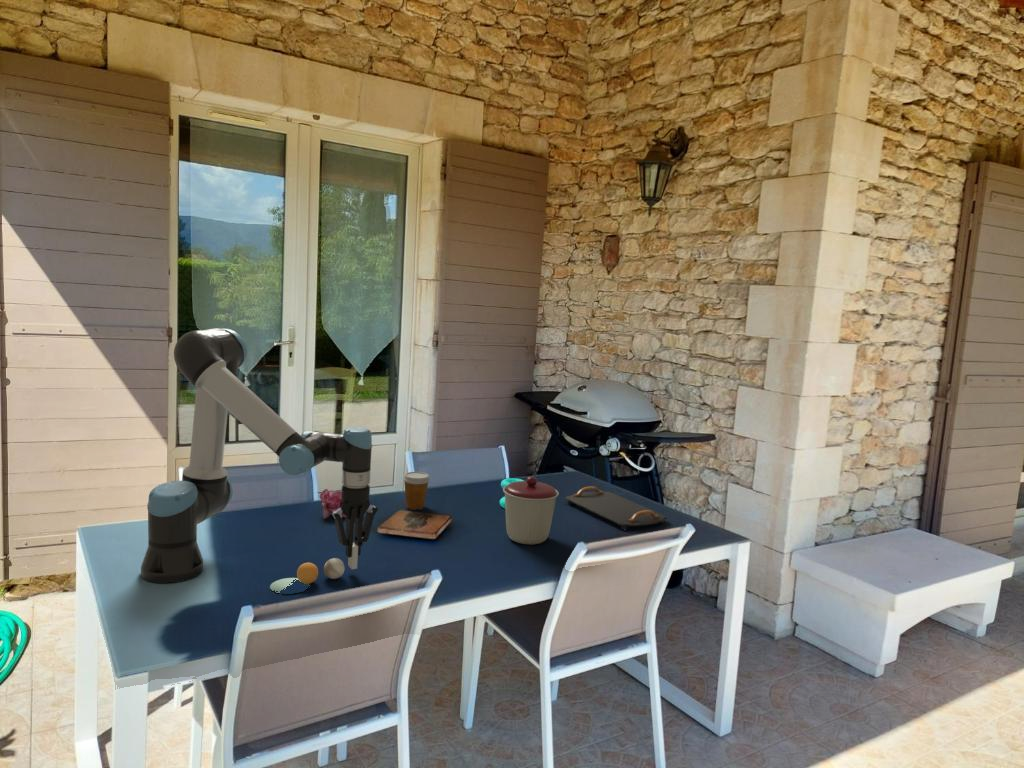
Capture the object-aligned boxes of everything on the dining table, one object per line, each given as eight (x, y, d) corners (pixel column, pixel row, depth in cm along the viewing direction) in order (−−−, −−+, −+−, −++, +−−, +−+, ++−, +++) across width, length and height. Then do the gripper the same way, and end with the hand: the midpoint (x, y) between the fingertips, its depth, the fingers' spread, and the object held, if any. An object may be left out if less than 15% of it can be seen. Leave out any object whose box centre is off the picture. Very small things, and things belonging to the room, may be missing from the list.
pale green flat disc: (264, 583, 188) (264, 582, 188) (301, 575, 194) (301, 575, 194) (277, 598, 180) (277, 597, 180) (315, 589, 186) (315, 589, 186)
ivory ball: (342, 560, 198) (330, 577, 196) (329, 551, 194) (316, 568, 193) (352, 568, 194) (339, 585, 192) (338, 559, 190) (325, 577, 189)
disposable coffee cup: (415, 501, 264) (417, 469, 263) (433, 507, 258) (435, 475, 257) (396, 506, 257) (397, 474, 255) (414, 513, 251) (416, 480, 249)
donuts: (499, 477, 268) (525, 477, 270) (497, 502, 270) (523, 503, 272) (503, 484, 259) (530, 485, 260) (501, 511, 260) (528, 511, 262)
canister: (529, 554, 221) (534, 488, 218) (488, 537, 233) (492, 474, 230) (565, 541, 234) (571, 479, 231) (524, 525, 246) (529, 466, 243)
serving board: (673, 526, 258) (675, 510, 257) (625, 535, 245) (627, 518, 244) (603, 496, 290) (604, 481, 289) (558, 502, 277) (559, 487, 276)
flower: (351, 524, 245) (353, 507, 238) (322, 528, 241) (323, 511, 235) (346, 498, 252) (348, 480, 246) (317, 501, 249) (318, 484, 242)
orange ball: (301, 583, 192) (289, 570, 189) (317, 568, 194) (305, 555, 191) (309, 591, 187) (297, 578, 185) (325, 575, 189) (313, 562, 187)
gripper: (338, 491, 187) (335, 576, 190) (383, 485, 195) (380, 567, 198) (327, 483, 193) (324, 566, 196) (371, 478, 201) (368, 558, 204)
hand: (352, 567), depth 197 cm, fingers closed
